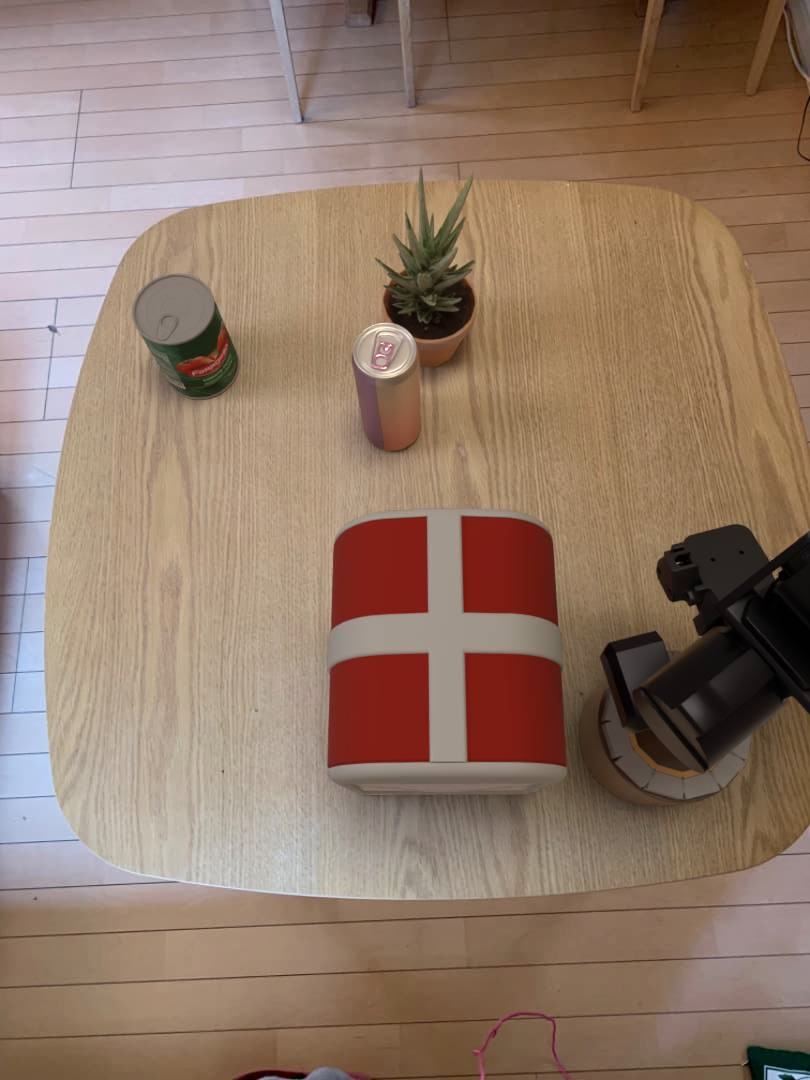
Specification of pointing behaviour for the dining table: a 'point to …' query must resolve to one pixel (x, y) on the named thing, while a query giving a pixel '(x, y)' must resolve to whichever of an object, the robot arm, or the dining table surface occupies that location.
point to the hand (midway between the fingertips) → (708, 675)
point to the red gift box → (445, 655)
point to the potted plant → (431, 285)
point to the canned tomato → (186, 335)
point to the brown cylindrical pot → (605, 766)
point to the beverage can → (388, 385)
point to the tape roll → (659, 776)
